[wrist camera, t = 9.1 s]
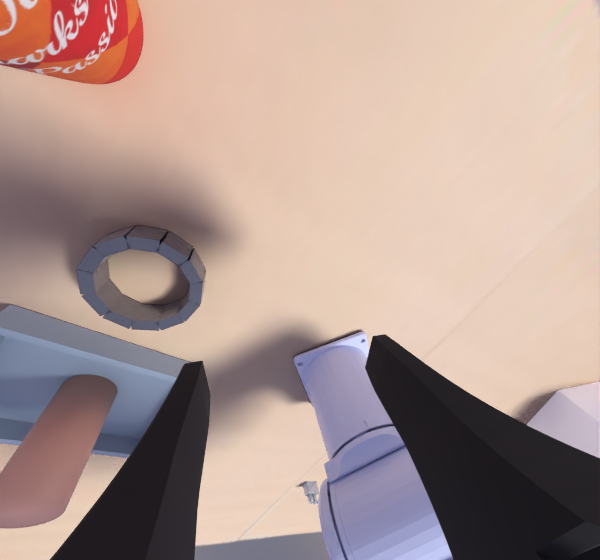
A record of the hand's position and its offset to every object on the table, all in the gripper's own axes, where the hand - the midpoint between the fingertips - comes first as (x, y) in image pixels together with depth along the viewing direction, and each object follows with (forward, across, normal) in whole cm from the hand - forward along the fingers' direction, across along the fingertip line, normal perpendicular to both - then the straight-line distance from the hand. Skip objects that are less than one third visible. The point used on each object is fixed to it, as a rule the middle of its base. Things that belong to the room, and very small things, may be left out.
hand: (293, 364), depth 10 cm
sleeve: (+10, +8, +1) cm, 13 cm away
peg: (+10, +15, +11) cm, 21 cm away
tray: (+10, +15, +11) cm, 22 cm away
